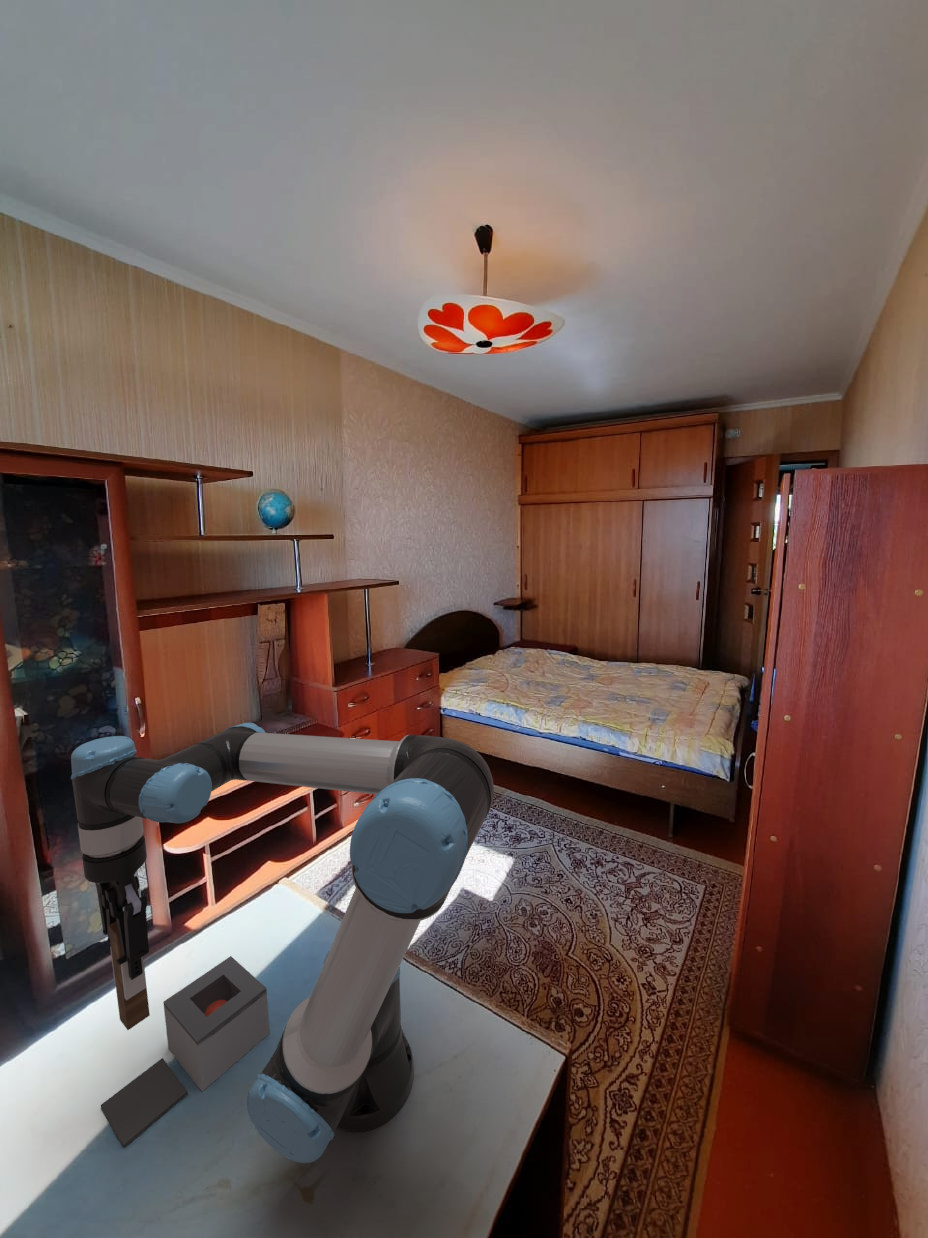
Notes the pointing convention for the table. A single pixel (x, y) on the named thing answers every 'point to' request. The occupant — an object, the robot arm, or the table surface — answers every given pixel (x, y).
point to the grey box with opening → (216, 1021)
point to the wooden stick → (134, 1006)
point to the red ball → (214, 1007)
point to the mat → (143, 1101)
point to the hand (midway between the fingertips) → (130, 986)
